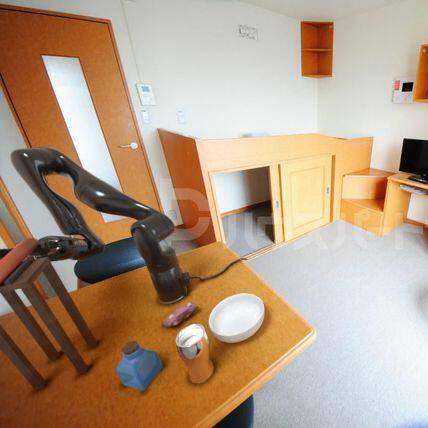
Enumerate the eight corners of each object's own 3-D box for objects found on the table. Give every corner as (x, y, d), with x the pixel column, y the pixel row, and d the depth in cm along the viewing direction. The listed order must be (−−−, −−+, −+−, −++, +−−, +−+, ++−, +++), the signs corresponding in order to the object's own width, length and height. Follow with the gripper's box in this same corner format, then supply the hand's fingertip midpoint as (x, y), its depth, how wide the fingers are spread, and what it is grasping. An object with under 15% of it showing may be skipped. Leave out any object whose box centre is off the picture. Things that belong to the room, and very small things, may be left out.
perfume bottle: (144, 390, 61) (128, 360, 56) (124, 385, 62) (107, 355, 57) (163, 366, 67) (150, 337, 61) (144, 362, 68) (130, 333, 63)
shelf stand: (97, 342, 73) (45, 253, 59) (86, 372, 65) (24, 277, 51) (53, 356, 69) (-14, 264, 54) (35, 390, 61) (-48, 292, 47)
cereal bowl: (244, 300, 89) (242, 285, 86) (276, 322, 81) (275, 307, 78) (201, 332, 77) (197, 316, 74) (234, 362, 68) (230, 346, 65)
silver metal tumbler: (221, 368, 66) (211, 331, 60) (197, 391, 61) (184, 353, 55) (205, 355, 70) (195, 318, 63) (182, 375, 64) (168, 338, 58)
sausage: (28, 247, 63) (22, 237, 62) (43, 244, 64) (38, 234, 63) (-29, 300, 46) (-39, 289, 45) (-7, 295, 47) (-15, 284, 46)
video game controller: (169, 334, 77) (170, 325, 73) (161, 324, 78) (161, 314, 74) (197, 313, 85) (199, 304, 81) (189, 304, 86) (191, 295, 82)
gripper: (23, 241, 70) (-28, 241, 55) (86, 231, 76) (55, 228, 61) (28, 267, 69) (-23, 273, 55) (91, 254, 75) (61, 257, 61)
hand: (18, 249), depth 58 cm, fingers open, 8 cm apart
